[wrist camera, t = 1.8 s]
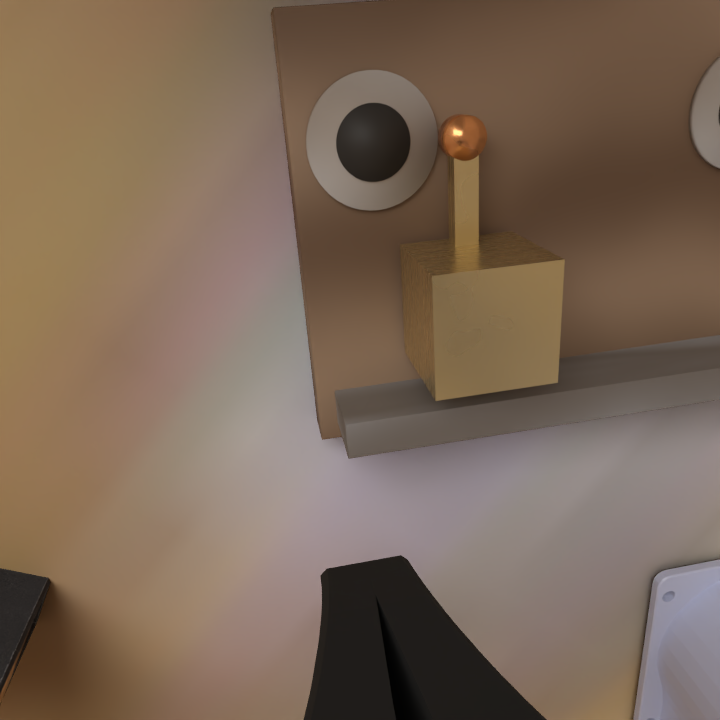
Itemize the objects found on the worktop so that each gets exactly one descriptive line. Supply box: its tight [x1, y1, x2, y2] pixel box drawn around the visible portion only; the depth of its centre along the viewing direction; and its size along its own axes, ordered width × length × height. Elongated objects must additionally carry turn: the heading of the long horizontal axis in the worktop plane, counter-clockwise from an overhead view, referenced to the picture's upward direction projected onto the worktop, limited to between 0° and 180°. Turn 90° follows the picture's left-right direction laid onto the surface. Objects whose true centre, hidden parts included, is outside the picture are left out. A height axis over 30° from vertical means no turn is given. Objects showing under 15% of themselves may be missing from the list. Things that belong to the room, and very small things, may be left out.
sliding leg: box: [400, 114, 565, 401], centre depth 15 cm, size 6×3×3 cm, turn 4°
